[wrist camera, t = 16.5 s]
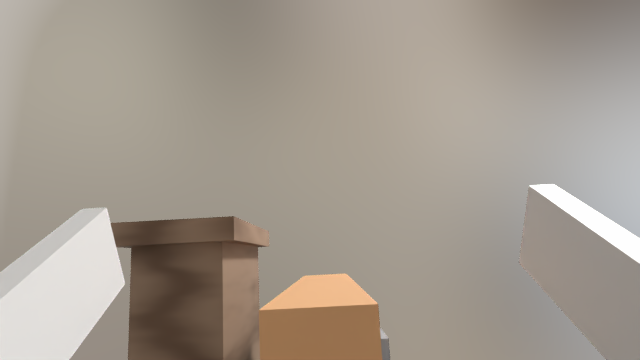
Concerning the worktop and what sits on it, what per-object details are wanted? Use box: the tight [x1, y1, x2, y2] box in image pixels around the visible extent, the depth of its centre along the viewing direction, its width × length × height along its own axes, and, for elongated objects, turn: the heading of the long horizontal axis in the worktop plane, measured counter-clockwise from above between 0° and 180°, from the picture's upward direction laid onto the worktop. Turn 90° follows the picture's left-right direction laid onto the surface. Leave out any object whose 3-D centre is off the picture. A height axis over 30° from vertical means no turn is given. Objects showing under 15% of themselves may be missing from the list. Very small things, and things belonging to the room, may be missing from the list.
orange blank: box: [259, 274, 382, 360], centre depth 26 cm, size 4×26×3 cm, turn 179°
